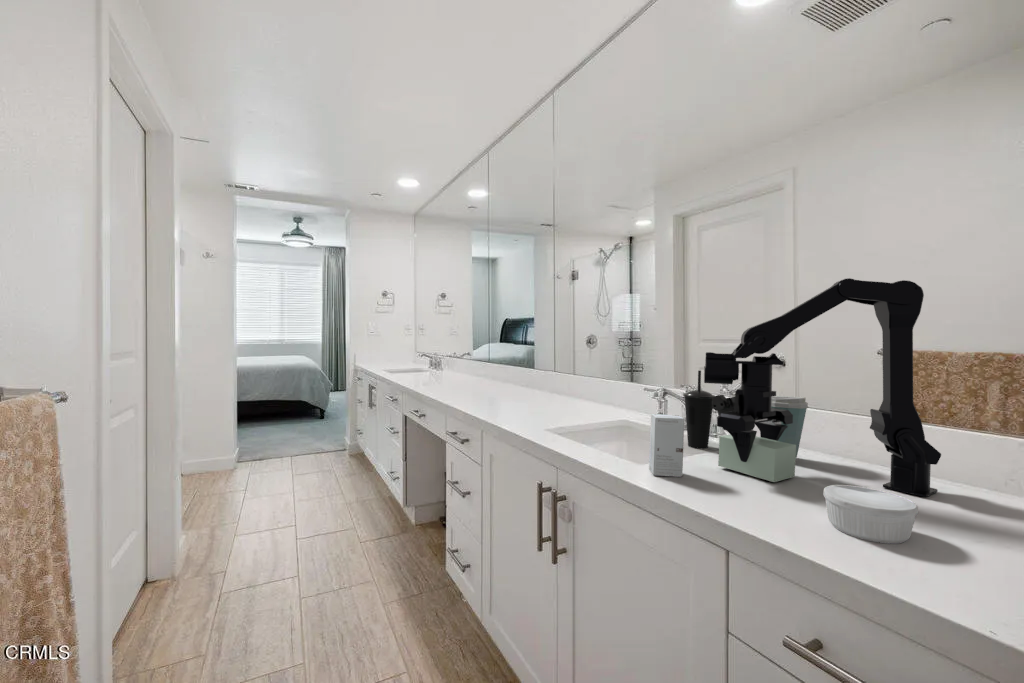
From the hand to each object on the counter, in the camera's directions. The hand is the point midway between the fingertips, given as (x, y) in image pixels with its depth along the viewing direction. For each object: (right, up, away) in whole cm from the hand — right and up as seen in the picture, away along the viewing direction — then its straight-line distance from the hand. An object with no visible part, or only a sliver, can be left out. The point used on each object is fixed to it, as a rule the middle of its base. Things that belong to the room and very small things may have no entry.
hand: (754, 459), depth 96 cm
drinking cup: (-3, -3, +23) cm, 24 cm away
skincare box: (-19, -3, -1) cm, 19 cm away
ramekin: (+2, -4, -28) cm, 28 cm away
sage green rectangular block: (0, -3, 0) cm, 3 cm away
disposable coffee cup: (+13, -3, +13) cm, 19 cm away
